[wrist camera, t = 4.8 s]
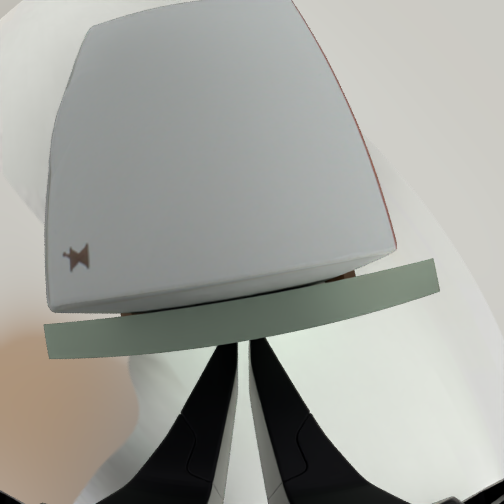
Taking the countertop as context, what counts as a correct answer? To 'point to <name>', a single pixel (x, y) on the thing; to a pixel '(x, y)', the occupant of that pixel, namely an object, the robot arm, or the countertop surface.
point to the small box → (205, 164)
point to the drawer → (242, 316)
